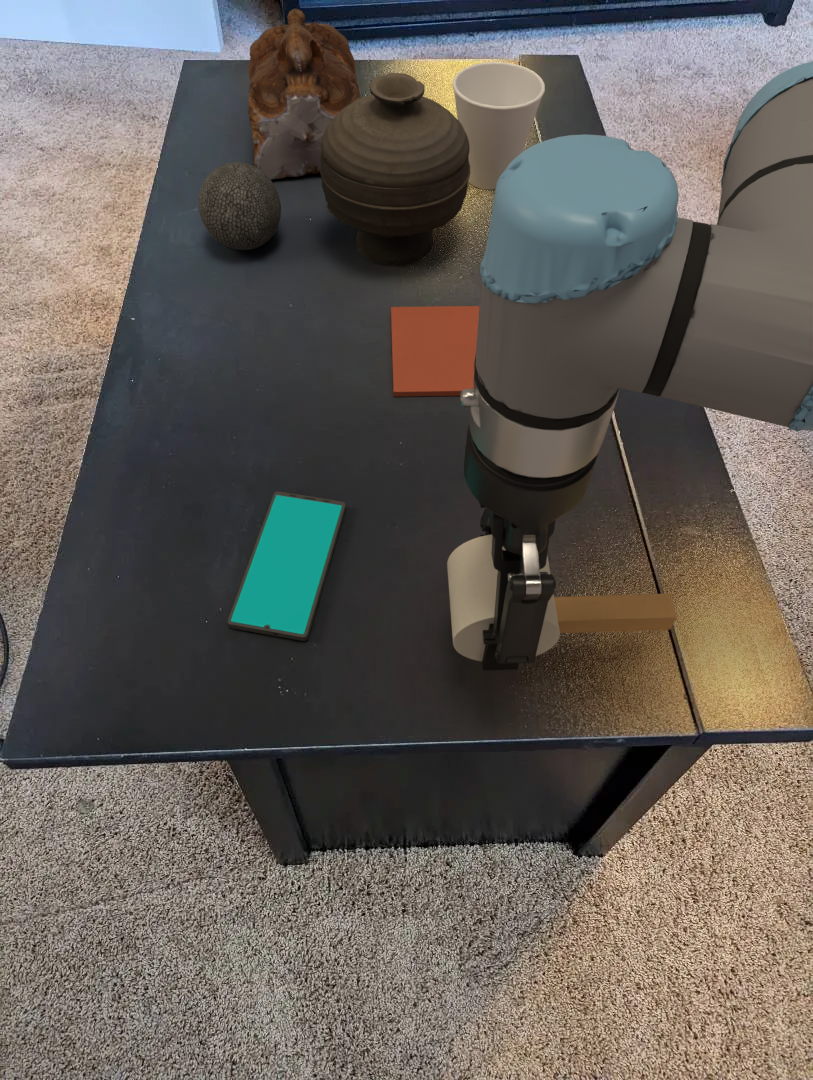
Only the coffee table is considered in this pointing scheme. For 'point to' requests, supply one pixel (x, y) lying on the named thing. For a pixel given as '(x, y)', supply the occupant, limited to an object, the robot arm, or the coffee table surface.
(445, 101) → the coffee table surface
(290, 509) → the smartphone
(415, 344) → the mat
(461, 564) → the mallet
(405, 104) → the pot
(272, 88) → the sculpture
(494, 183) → the cup
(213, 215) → the decorative ball
